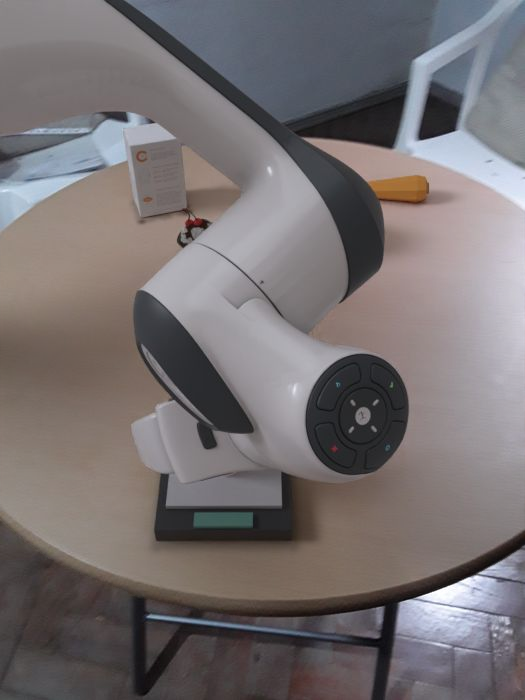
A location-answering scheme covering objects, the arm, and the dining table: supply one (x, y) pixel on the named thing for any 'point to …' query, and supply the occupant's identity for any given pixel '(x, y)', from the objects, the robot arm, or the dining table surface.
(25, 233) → the dining table surface
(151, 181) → the small box
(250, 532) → the scale
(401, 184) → the carrot
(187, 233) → the sundae
